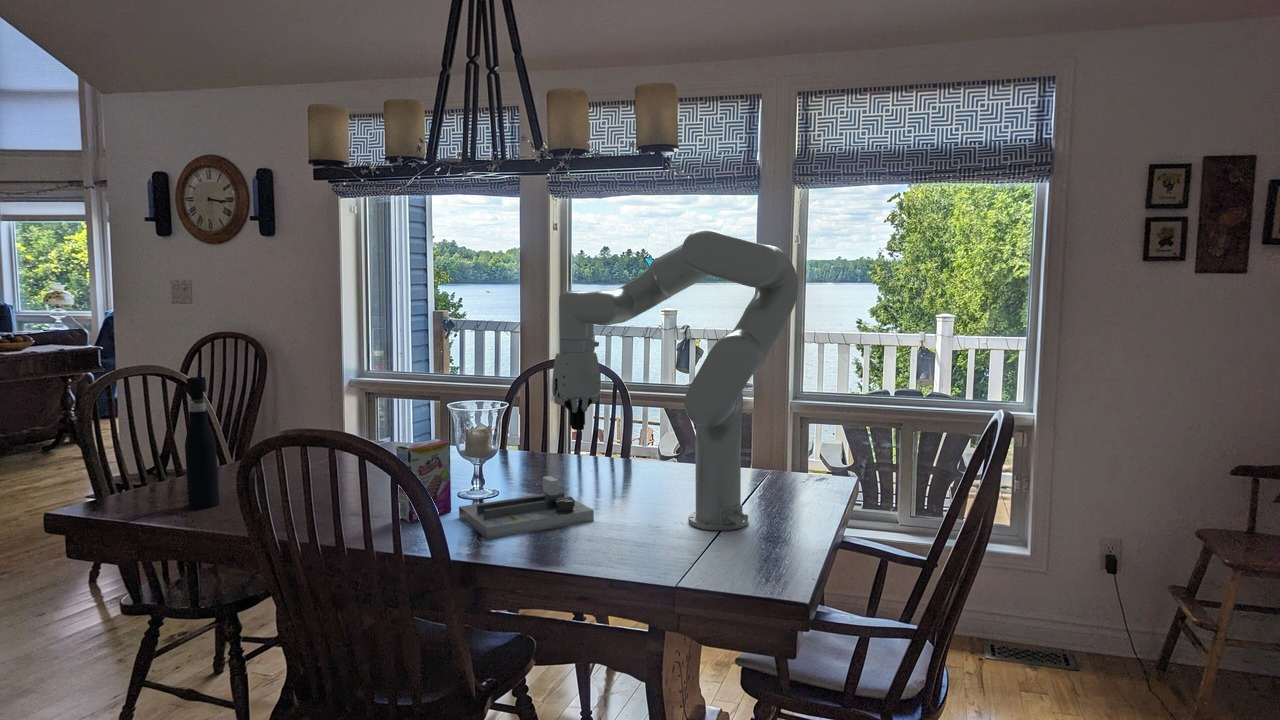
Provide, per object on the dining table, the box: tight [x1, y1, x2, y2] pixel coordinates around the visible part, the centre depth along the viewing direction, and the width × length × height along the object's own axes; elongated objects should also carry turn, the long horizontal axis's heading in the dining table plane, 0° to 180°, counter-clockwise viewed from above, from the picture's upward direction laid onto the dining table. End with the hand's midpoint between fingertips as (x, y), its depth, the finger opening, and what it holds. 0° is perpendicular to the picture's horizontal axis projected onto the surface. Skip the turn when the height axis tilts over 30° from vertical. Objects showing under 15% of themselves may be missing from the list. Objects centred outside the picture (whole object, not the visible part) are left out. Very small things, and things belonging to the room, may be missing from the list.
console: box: [458, 491, 595, 540], centre depth 185 cm, size 18×24×5 cm
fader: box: [542, 475, 560, 500], centre depth 188 cm, size 4×2×6 cm, turn 30°
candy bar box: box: [396, 438, 452, 524], centre depth 188 cm, size 11×5×16 cm, turn 141°
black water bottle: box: [184, 376, 220, 510], centre depth 197 cm, size 6×6×30 cm
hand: (577, 428), depth 190 cm, fingers closed
